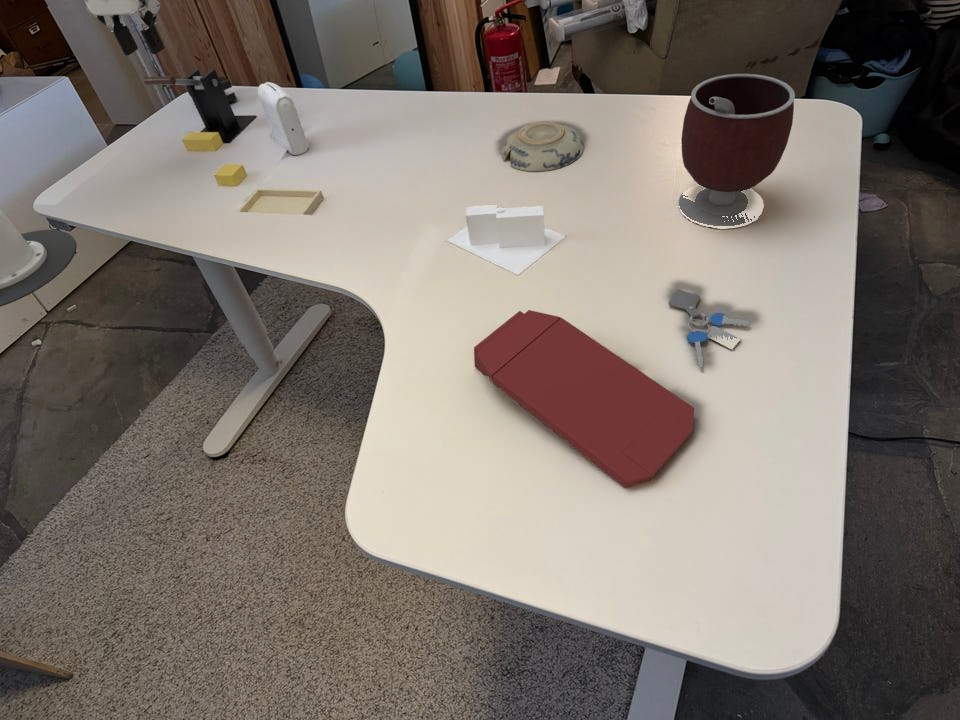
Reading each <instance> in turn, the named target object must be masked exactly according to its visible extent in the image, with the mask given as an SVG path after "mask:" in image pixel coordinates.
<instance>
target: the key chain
mask: <svg viewBox="0 0 960 720" xmlns="http://www.w3.org/2000/svg"><path fill="white" fill-rule="evenodd" d="M700 299H701V295H699V294H697V293H693V292H689V291H686V290H682V289H676V290H674V292H673V293H672V296H671V297H670V299H669V301H668V303H667V304H668V305H669V306H672V307H674V308H675V307H676V308H679V309H681V310H685V311H686V312H687V313H688V315H689V316H690V317H689V321H688V322H687V325H688V328H689V329H690V331H691V332H689V333H687V335H686V340H687V341H688V342H689V343H692V344H694V347H695V353H696V358H697V362H698V367H699V369H702V368H703V369H704V356H703V353H702V352H703V350H702V347H701V343H704V342H706V341H707V340H708V339H709V338H708V335H709V336H710V337H712V334H713V336H714V335H715V337H716V339H717V335H718V336H719V337H720V336H721V338H722V339H723V335H724V336H725V338H726V337H727V340H728V337H729V336H730V339H731V340H732V339H733V337H734V338H736V339H737V337H738V336H736V335H734V334H732V333H730V332H728V331H726V330H724V329H722V328H721V327H723V325H727V326H728V325H732V326H734V327H736V326H738V327H741V326H743V327H750V324H751V322H750V320H745V319H740V318H739V319H737V318H731V317H728V316H727V315H726V314H725V313H723V312H715V313H713V314H711V315H707V314H705V313H702V312H700V311H699V310H698V309H697V307H696V306H697V304H698V302H699V300H700ZM698 317H702V319H698ZM695 318H696V319H695ZM695 321H698V322H702V323H698V322H695ZM690 323H691V324H692V325H694V326H696V327H697V326H698V327H704V326H707V327H708V329H707V330H706V331H703V330H693V329H692V328H691V327H690ZM709 323H711V325H712V326H710V325H709ZM719 327H720V328H719ZM741 341H742V340H741V338H740V342H741Z"/></svg>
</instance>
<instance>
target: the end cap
mask: <svg viewBox="0 0 960 720" xmlns="http://www.w3.org/2000/svg"><path fill="white" fill-rule="evenodd" d="M204 75H205V74H203V75H202V76H204ZM218 78H219V80H220V82H221V85H222V87H223V89H224V91H226V90H229V89H230V88H232V87H233V86H232V83H231V81H230V80H229V78H228V77H225V76H220V77H218ZM186 91H187V93H188V95H189V97H191V95H190V93H189V91H188V89H187V88H186ZM226 96H227V99H228V101H229V103H233V102H235V101H237V100H238V98H237V96H236V93H235V92H234V91H233V92H231V93H228V94H226Z"/></svg>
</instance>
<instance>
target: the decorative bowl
mask: <svg viewBox="0 0 960 720" xmlns="http://www.w3.org/2000/svg"><path fill="white" fill-rule="evenodd" d="M584 150H585V145H584V142H583V140H582V139H581V137H580V136H579V135H578V134H577V133H576V132H575V131H574V130H572V129H571V128H569V127H567V126H564V125H561V124H560V123H557V122H554V121H548V120H542V121H541V120H540V121H535V122H531V123H528V124H526V125H523V126H522V127H521V128H520V129H519V130H517V131H515V132H514V133H513V134H511V135H510V136H509V137H508V139H506V141H505V143H504V144H503V145H502V147H501V150H500V155H501V159H502V160H503V162H505V161H506V159H507V158H508V157H509V155H510V167H512V168H513V169H516V170H517V171H519V170H520V171H522V172H531V173H535V172H536V173H537V172H539V173H540V172H549V171H553V170H557V169H561V168H564V167H566V166H569V165H572V163H574V162H575V161H577V160H578V159H579V158H580V157H581V156H582V154H583V152H584Z"/></svg>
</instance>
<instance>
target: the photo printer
mask: <svg viewBox="0 0 960 720" xmlns="http://www.w3.org/2000/svg"><path fill="white" fill-rule="evenodd" d="M257 97H258V100H259V102H260V104H261V107H262V109H263V113H264V114H265V117H266V120H267V123H268V125H269V128H270V130H271V133H272V137H273V138H274V140H275V141H276V142H277V143H278V144H279V145H280V146H282V147H283V148H284V149H286V152H287V153H289V154H290V155H292V156H294V155H295V156H299V155H302V154H305V153H306V152H307V151H308V150H309V144H308V141H307V137H306V134H305V132H304V129H303V126H302V123H301V121H300V118H299V117H300V116H299V114H298V111H297V109H296V106H295V103H294V100H293V98H292V97H291V96H290V95H289V93H288V92H286V91H285V89H283V88H282V87H281V86H280V85H278V84H276V83H274V82H269V81H266V82H264V83H260V84H259V86H258V88H257Z"/></svg>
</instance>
